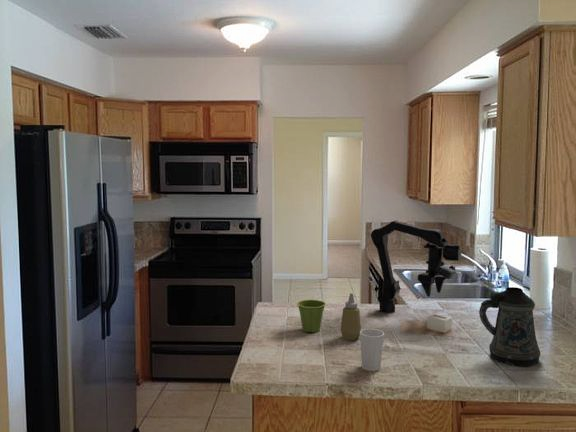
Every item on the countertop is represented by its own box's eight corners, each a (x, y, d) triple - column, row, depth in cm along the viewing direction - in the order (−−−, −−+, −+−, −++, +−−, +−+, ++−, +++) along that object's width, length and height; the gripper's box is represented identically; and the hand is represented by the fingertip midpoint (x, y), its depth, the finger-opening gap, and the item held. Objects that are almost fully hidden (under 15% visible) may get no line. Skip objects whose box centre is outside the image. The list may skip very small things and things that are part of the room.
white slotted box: (444, 332, 198) (445, 320, 198) (427, 328, 204) (427, 315, 203) (451, 329, 202) (452, 316, 202) (433, 325, 208) (434, 312, 207)
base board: (400, 335, 199) (400, 332, 199) (401, 323, 214) (401, 320, 214) (453, 340, 194) (453, 336, 194) (450, 327, 210) (450, 323, 209)
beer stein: (551, 364, 171) (555, 293, 169) (503, 371, 166) (507, 297, 163) (516, 347, 187) (519, 282, 184) (471, 352, 182) (474, 285, 179)
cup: (356, 362, 172) (357, 329, 171) (379, 362, 173) (380, 328, 171) (362, 372, 164) (363, 337, 163) (386, 371, 165) (386, 336, 163)
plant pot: (329, 327, 209) (329, 301, 207) (319, 336, 198) (319, 308, 197) (303, 323, 213) (303, 298, 212) (292, 332, 203) (292, 305, 202)
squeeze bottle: (362, 336, 198) (363, 291, 196) (358, 343, 191) (359, 297, 189) (342, 334, 201) (343, 290, 199) (338, 340, 193) (338, 295, 191)
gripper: (442, 264, 202) (440, 302, 204) (462, 258, 215) (461, 294, 217) (417, 260, 210) (416, 297, 211) (438, 255, 223) (437, 289, 225)
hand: (433, 294), depth 216 cm, fingers open, 9 cm apart
